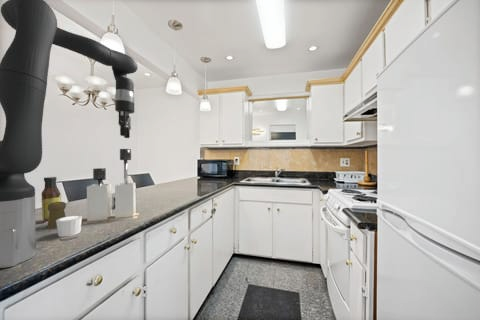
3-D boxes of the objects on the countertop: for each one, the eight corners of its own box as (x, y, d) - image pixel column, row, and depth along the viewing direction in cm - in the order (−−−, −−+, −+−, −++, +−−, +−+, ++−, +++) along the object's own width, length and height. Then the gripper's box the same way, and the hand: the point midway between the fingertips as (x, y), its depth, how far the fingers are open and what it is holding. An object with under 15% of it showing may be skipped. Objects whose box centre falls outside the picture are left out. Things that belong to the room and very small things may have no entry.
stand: (136, 221, 84) (136, 218, 84) (81, 227, 76) (81, 224, 76) (139, 215, 93) (139, 212, 93) (90, 220, 86) (90, 216, 86)
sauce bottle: (65, 218, 88) (65, 176, 88) (50, 223, 82) (50, 177, 81) (53, 218, 89) (52, 176, 88) (37, 222, 82) (36, 177, 82)
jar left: (107, 220, 81) (106, 185, 81) (87, 222, 78) (86, 186, 78) (111, 215, 87) (111, 183, 87) (93, 217, 85) (92, 184, 85)
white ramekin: (63, 243, 63) (63, 222, 63) (51, 239, 65) (51, 219, 65) (86, 235, 69) (86, 216, 69) (75, 232, 71) (74, 214, 71)
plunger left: (105, 215, 81) (104, 168, 81) (90, 217, 80) (90, 169, 79) (108, 212, 86) (107, 168, 86) (95, 213, 84) (94, 168, 84)
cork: (66, 225, 78) (65, 199, 78) (68, 229, 75) (68, 201, 75) (45, 230, 74) (45, 202, 74) (47, 234, 70) (46, 204, 70)
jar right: (133, 217, 85) (133, 184, 84) (115, 219, 82) (115, 185, 82) (135, 213, 91) (135, 182, 91) (118, 214, 88) (118, 183, 88)
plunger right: (131, 194, 85) (130, 149, 85) (118, 194, 83) (117, 148, 83) (132, 192, 90) (132, 149, 89) (120, 193, 88) (120, 149, 88)
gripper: (131, 98, 81) (132, 135, 81) (136, 106, 94) (136, 138, 94) (111, 95, 78) (111, 134, 78) (118, 104, 91) (119, 138, 91)
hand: (125, 136), depth 86 cm, fingers open, 8 cm apart
